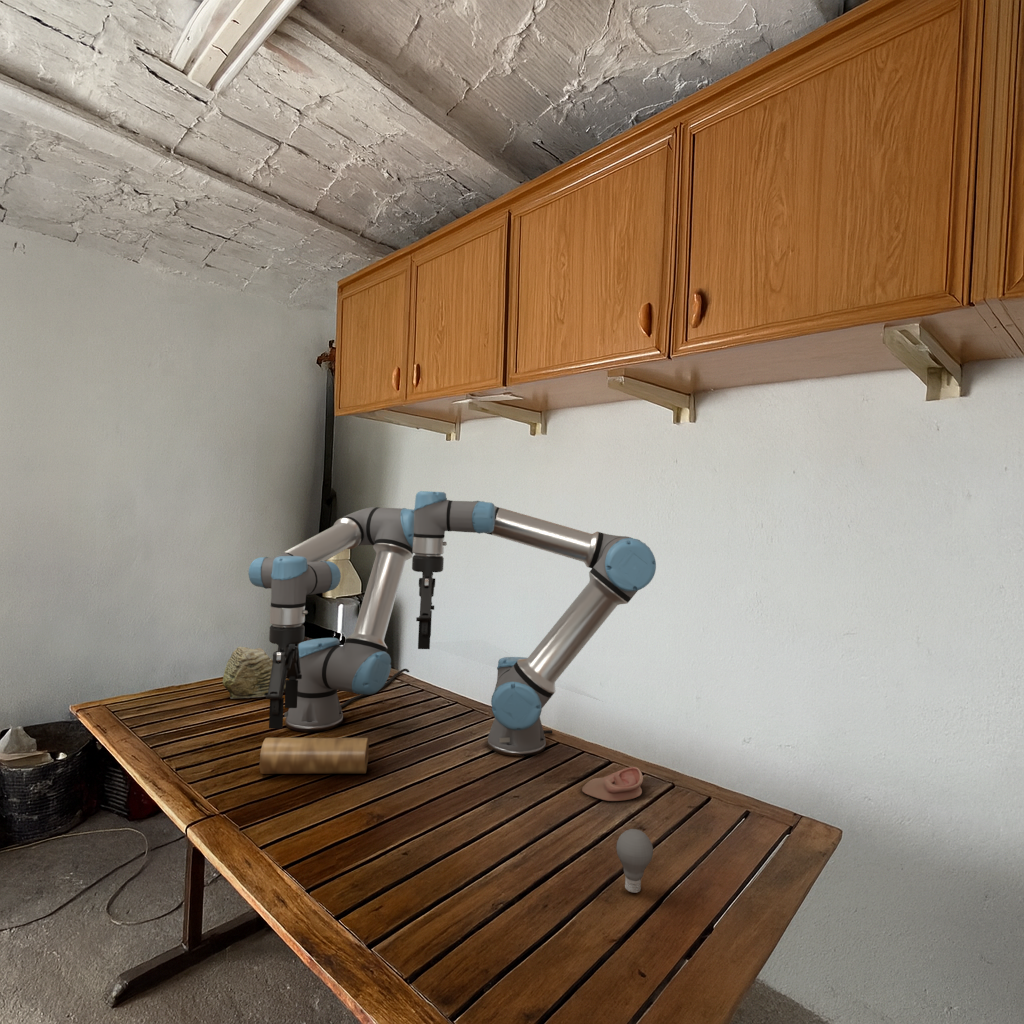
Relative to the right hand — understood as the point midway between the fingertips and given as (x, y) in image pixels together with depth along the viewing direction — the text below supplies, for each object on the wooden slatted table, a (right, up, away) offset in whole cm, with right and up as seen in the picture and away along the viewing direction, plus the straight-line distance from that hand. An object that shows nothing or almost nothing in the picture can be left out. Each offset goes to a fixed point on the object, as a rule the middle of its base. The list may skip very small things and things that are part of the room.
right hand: (424, 642), depth 154 cm
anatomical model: (+44, -31, -11) cm, 55 cm away
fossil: (-59, -26, +44) cm, 78 cm away
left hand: (-31, -15, -10) cm, 36 cm away
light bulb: (+41, -32, -48) cm, 71 cm away
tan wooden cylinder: (-24, -28, -8) cm, 38 cm away
